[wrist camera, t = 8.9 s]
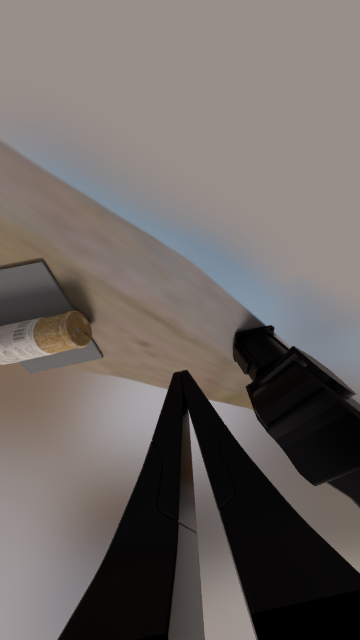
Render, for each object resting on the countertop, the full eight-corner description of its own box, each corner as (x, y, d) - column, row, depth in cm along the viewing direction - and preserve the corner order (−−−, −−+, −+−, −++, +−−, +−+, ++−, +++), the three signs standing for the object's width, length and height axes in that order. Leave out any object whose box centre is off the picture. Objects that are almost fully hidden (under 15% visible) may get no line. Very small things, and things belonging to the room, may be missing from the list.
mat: (43, 261, 14) (41, 262, 14) (103, 356, 22) (102, 358, 21) (-65, 282, 14) (-69, 282, 14) (32, 371, 21) (30, 373, 21)
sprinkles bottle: (92, 315, 19) (-9, 336, 18) (64, 304, 14) (-70, 332, 14) (94, 348, 18) (-12, 372, 17) (66, 348, 13) (-79, 379, 13)
